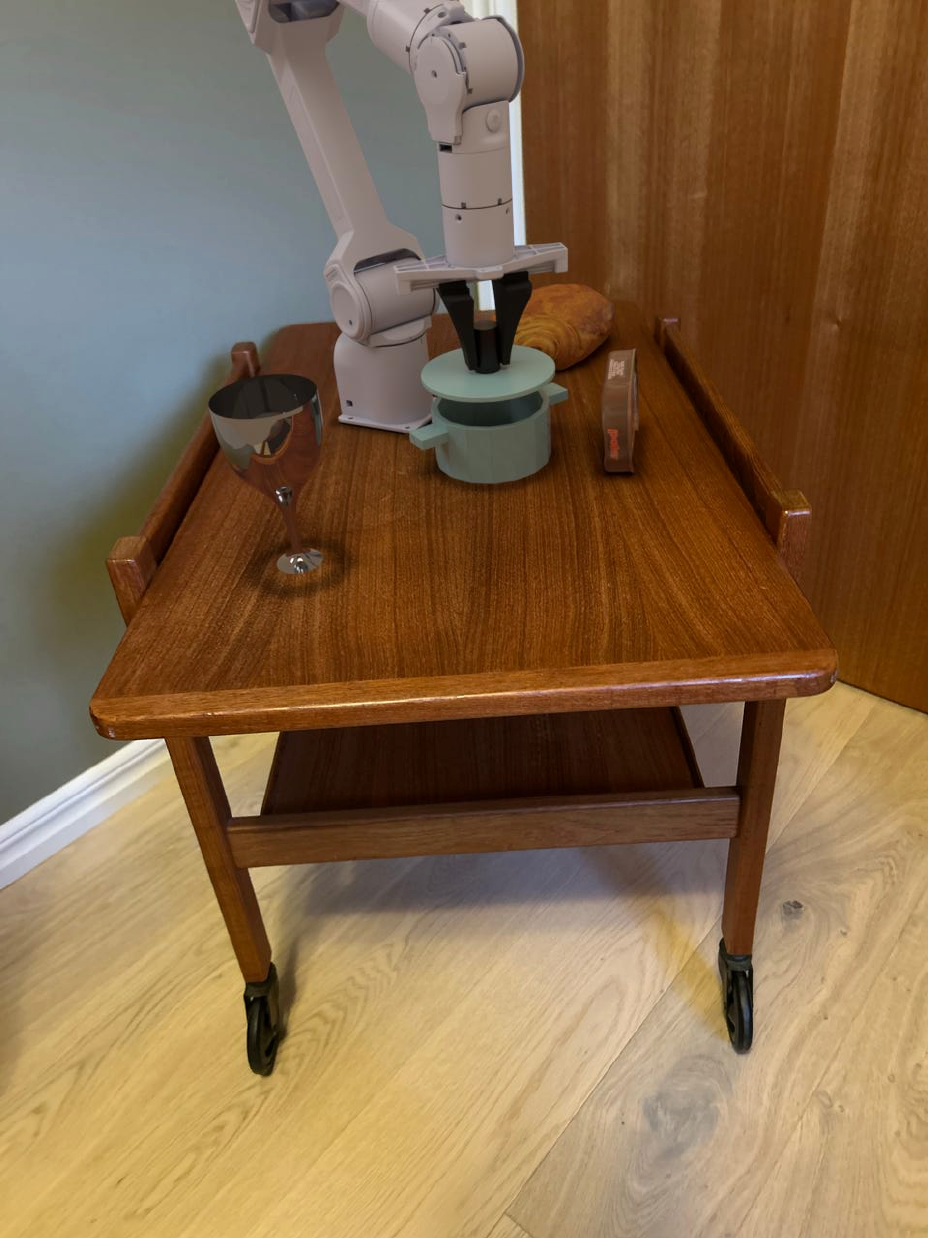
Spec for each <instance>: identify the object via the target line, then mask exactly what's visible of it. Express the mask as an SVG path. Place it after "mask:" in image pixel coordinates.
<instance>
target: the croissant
mask: <svg viewBox="0 0 928 1238" xmlns="http://www.w3.org/2000/svg"><path fill="white" fill-rule="evenodd" d="M490 320H492V321H496V315H495V313H494V314H493V315H492V316H491V318H490ZM616 320H617V311H616V309H615V306H614V304H613V303H612V302H611V300H608V299H607V298H606V296H604V295H603V294H602V293H599V292H597V291H596V290H594V289H593V288H592V287H590V286H588V285H587V284H586V285H585V284H578V283H563V284H561V283H555V284H551V285H544V286H541V287H540V286H539V287H538V288H535V289H532V294H531V298H530V299H529V301H528V303H527V305H526V307H525V309H524V312H523V314H522V316H521V319H520V321H519V324H518V327H517V331H516V334H515V338H514V342H513V345H519V346H525V347H530V348H533V349H536V350H539V351H541V352H543V353H545V354H547V355H548V356H549V357H550V358H551V359H552V360H553V362H554V364H555V371H558V372H559V371H563V370H566V369H568V368H570V367H572V366H573V365H575V364H577V363H580V362H582V361H583V360H585V359H586V358H587V357H588V356H590V355H591V354H593V352H594V351H595V350H597V349H598V348H599V347H600V346H601V345H602V344H604V342H605V341H606V340H607V339H608V337H609V336H610V334H611V332H612V330H613V329H614V327H615V324H616Z"/></svg>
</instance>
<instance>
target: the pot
mask: <svg viewBox="0 0 928 1238" xmlns="http://www.w3.org/2000/svg"><path fill="white" fill-rule="evenodd" d="M435 397H436V399H435V401H434V403H433V404H432V406H431V414H432V419H431V424H427V425H424V426H423V427H422V428H419V429H416V430H413V431H410V432H409V433H408V435H409V436H408V438H409V442H410V443H411V444H412V445H414V446H416V448H418V449H420V450H421V451H423V452H424V451H427V450H429V449H433V448H434V451H435V460H436V463H437V465H438V468H439V470H440V471H442V472H443V473H445V474H446V475H447V476H449V477H450V478H451V479H456V480H460V481H462V482H466V483H471V484H490V485H491V484H499V483H507V482H514V481H518V480H521V479H524V478H525V477H528V476H531V475H533V474H536V473H537V472H539V471H540V470H541V469H542V468H544V467H545V466H546V465H547V464H548V463H549V461H550V457H551V454H552V434H551V433H552V432H551V429H552V428H551V427H552V426H551V406H553V405H556V404H559V403H562V402H565V401H567V400H569V389H568V388H565V387H563V386H561V385H560V384H558V383H555V382H549V383H548V384H547V385H546V386H544V387H543V388H541V389H539V390H537V391H535V392H533V393H531V394H528V395H525V396H522V397H518V398H514V399H510V400H504V401H496V402H483V403H473V402H460V401H454V400H448V399H445V398H441V397H439V396H435Z"/></svg>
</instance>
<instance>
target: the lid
mask: <svg viewBox="0 0 928 1238" xmlns="http://www.w3.org/2000/svg"><path fill="white" fill-rule="evenodd" d="M474 339H475V347H476V354H477V370H471V371H470V370H469V369H468V367H467V366H466V364H465V360H464V355H463V351H462V347H461V348H457V349H453V350H451V351H447V352H445V353H442V354H440V355H438V356H436V357H434V358H433V359H430V360H429V363H427V364H426V365H425V367H424V368H423V370H422V372H421V381H422V384H423V386H424V387H425V388H426V390H428V391H429V392H430V393H432V395H434V396H435V397H437V396H439V397H441V398H445V399H448V400H454V401H460V402H473V403H483V402H496V401H504V400H510V399H514V398H518V397H522V396H525V395H528V394H531V393H533V392H535V391H537V390H539V389H541V388H543V387H544V386H546V385H547V384H550V383H551V381H552V380H553V379H554V377H555V374H556V370H555V364H554V362H553V360H552V359H551V358H550V357H549V356H548V355H547V354H545V353H543V352H541V351H539V350H536V349H533V348H530V347H525V346H519V345H513V347H512V352H511V359H510V364H509V365H502V364H501V358H500V339H499V324H498V322H496V321H492V320H491V319H485V320H484V319H483V320H478V321H474Z"/></svg>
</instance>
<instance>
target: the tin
mask: <svg viewBox="0 0 928 1238" xmlns="http://www.w3.org/2000/svg"><path fill="white" fill-rule="evenodd" d="M639 393H640V392H639V363H638V351H637V348H633V349H622V350H613V351H610V352H609V353H608V356H607V360H606V364H605V370H604V375H603V381H602V389H601V404H600V405H601V408H600V409H601V411H600V412H601V428H602V433H603V441H604V459H603V466H604V470H605V471H606V472H607V473H631V474H633V473H635V470H634V466H633V452H634V451H633V450H634V446H635V445H634V444H635V435H636V431H637V432H639V431H640V430H639V428H640V427H639V426H640V424H639V423H640V410H639V409H640V400H639V399H640V396H639V395H640V394H639Z"/></svg>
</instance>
